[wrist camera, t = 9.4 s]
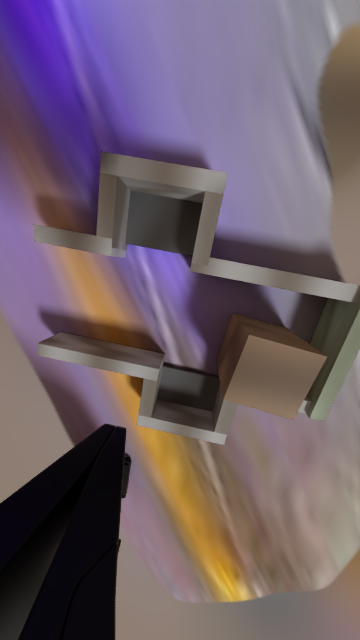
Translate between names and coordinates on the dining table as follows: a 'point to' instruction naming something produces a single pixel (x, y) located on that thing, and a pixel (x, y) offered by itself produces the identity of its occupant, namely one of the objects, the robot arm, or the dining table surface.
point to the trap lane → (196, 240)
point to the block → (266, 366)
